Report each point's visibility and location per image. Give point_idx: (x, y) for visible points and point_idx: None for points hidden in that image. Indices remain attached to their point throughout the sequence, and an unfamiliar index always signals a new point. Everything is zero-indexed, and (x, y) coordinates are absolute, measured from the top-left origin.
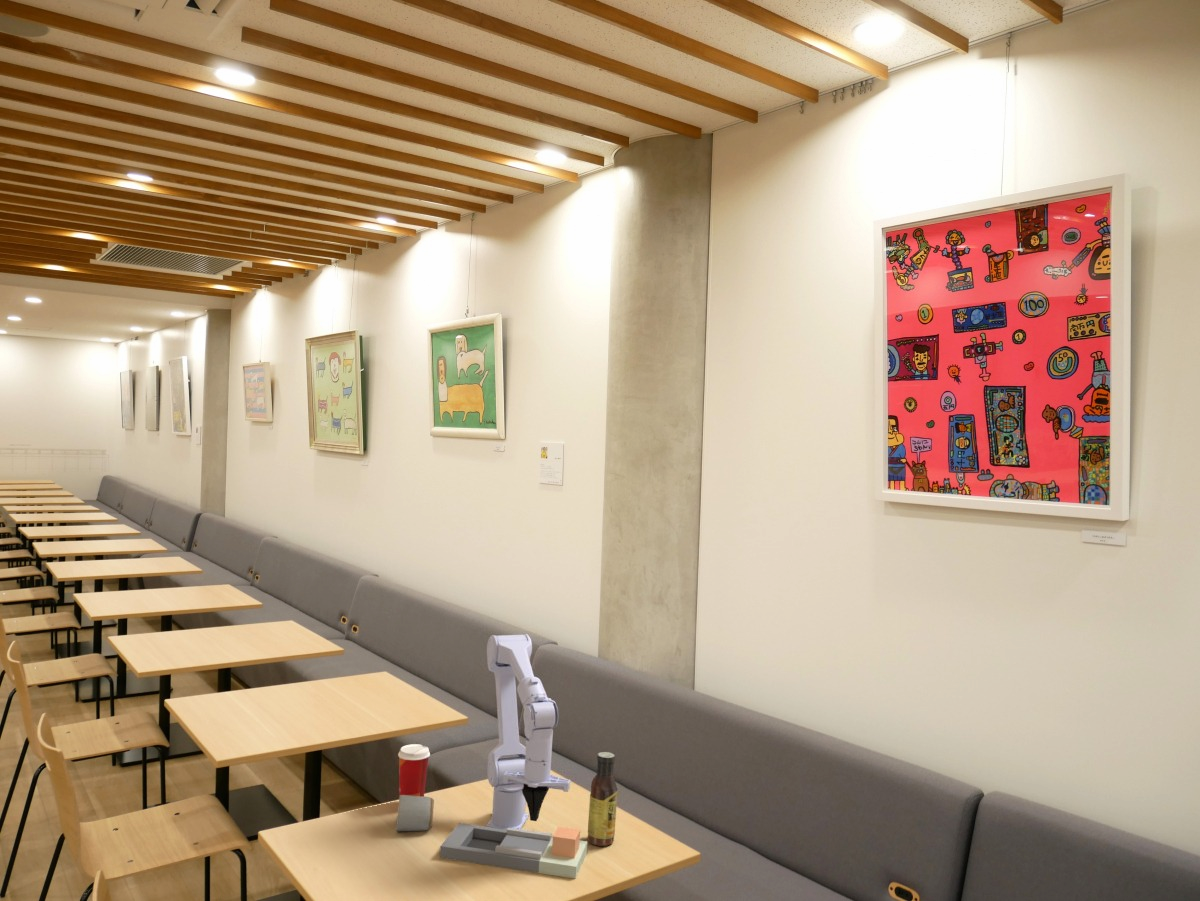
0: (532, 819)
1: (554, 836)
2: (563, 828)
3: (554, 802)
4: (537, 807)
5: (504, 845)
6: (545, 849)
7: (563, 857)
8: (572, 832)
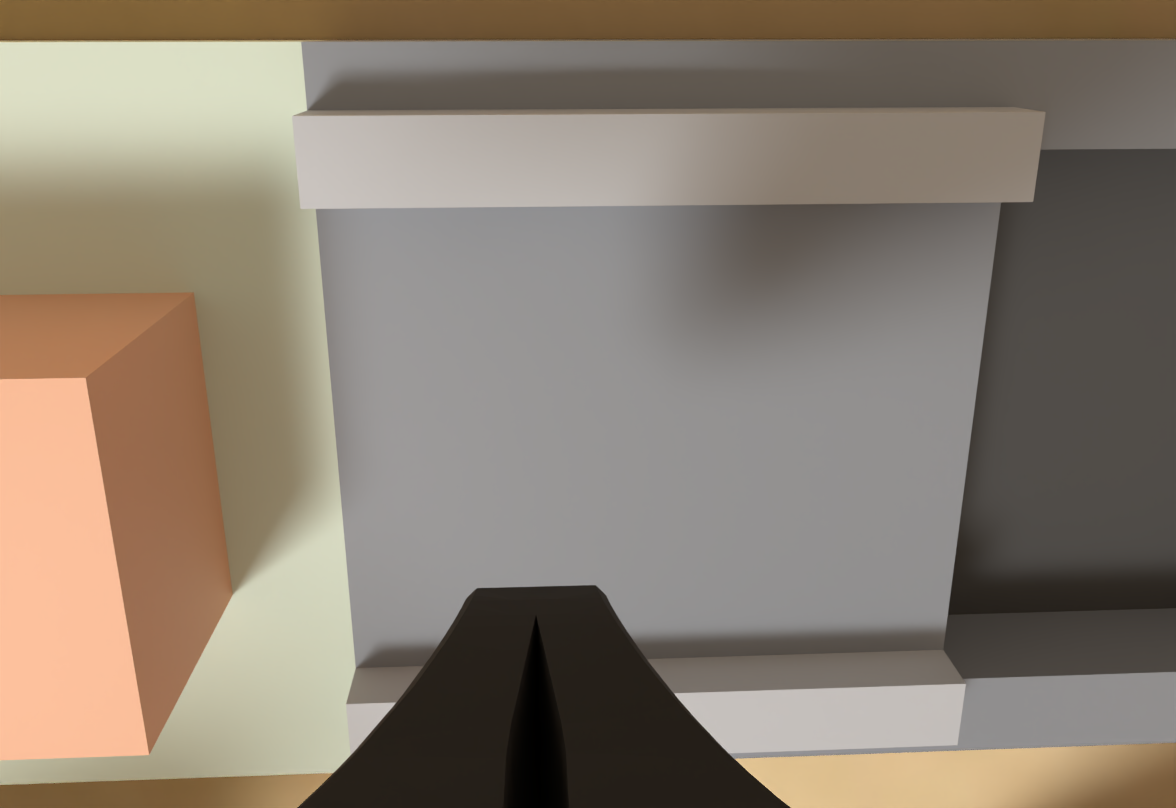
0: (552, 596)
1: (55, 386)
2: (32, 721)
3: None
4: (400, 749)
5: (918, 350)
6: (334, 418)
7: (1, 272)
8: None
